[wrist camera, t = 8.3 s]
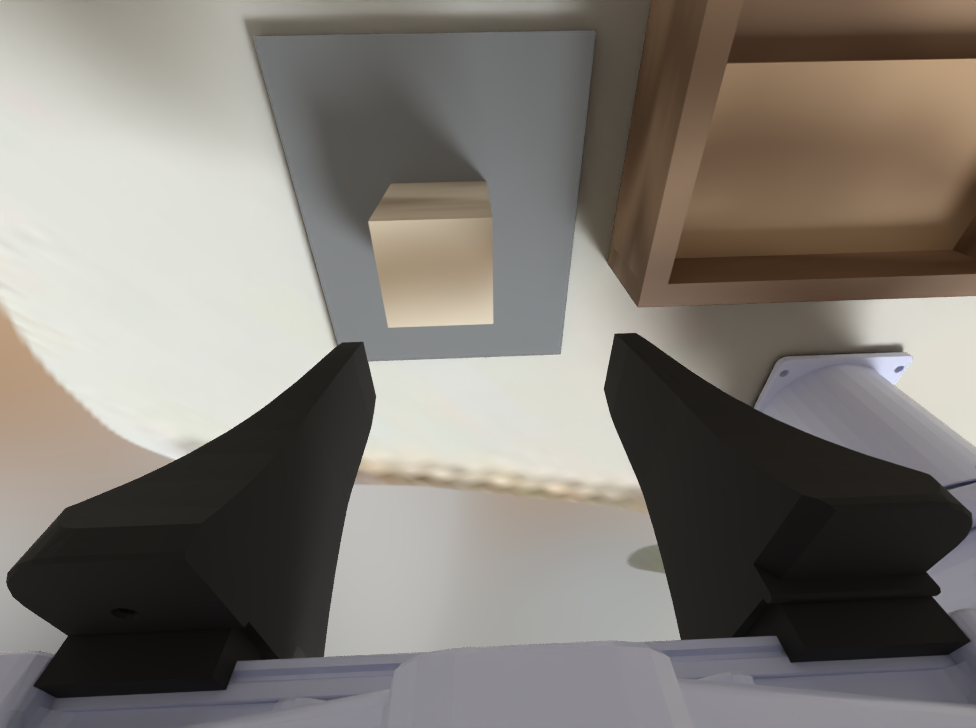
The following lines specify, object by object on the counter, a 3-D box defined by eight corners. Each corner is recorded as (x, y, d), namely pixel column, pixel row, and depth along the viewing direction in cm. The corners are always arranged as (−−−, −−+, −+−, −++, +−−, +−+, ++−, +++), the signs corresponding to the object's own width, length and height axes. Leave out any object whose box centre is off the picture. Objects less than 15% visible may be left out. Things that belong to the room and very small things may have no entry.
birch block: (487, 270, 20) (493, 323, 16) (404, 272, 20) (388, 327, 16) (486, 181, 17) (492, 217, 13) (390, 183, 17) (368, 221, 13)
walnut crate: (921, 253, 21) (1016, 294, 17) (607, 263, 20) (637, 307, 17) (1276, -307, 11) (1654, -478, 8) (702, -309, 11) (819, -490, 7)
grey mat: (558, 348, 23) (560, 354, 23) (345, 355, 23) (342, 362, 23) (592, 31, 15) (596, 30, 15) (258, 36, 15) (252, 36, 14)
